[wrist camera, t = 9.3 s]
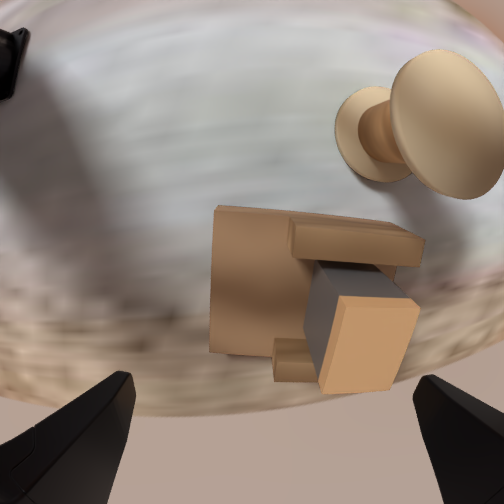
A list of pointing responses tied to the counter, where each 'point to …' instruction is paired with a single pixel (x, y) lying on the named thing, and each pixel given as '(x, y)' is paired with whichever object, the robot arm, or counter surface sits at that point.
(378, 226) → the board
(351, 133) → the door knob
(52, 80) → the counter surface
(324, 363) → the block
